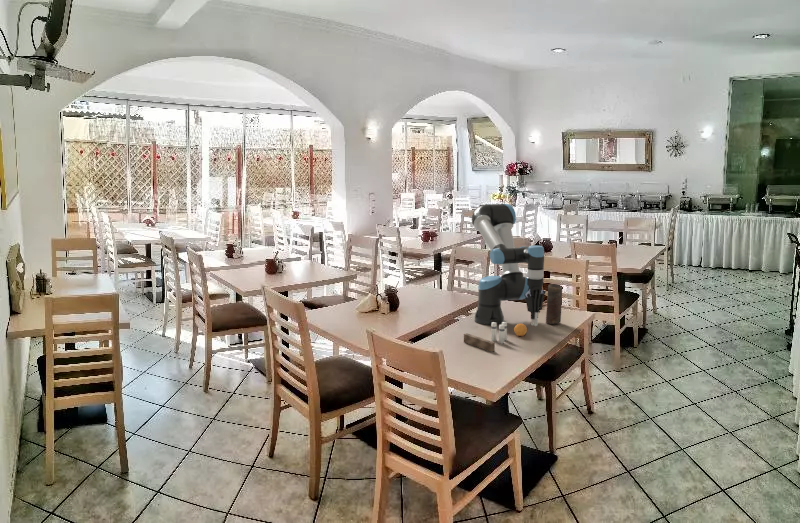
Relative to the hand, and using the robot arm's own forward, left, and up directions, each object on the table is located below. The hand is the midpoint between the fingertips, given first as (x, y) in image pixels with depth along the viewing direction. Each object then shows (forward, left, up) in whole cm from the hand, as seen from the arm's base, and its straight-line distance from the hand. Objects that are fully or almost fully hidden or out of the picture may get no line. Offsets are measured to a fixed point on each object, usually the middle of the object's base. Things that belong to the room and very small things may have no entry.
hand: (534, 325), depth 289 cm
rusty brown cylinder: (+2, +20, -4) cm, 21 cm away
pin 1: (-11, -22, -4) cm, 25 cm away
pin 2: (-6, -24, -4) cm, 25 cm away
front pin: (-7, -19, -4) cm, 21 cm away
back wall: (-13, -34, -4) cm, 37 cm away
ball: (-4, -9, -1) cm, 9 cm away
